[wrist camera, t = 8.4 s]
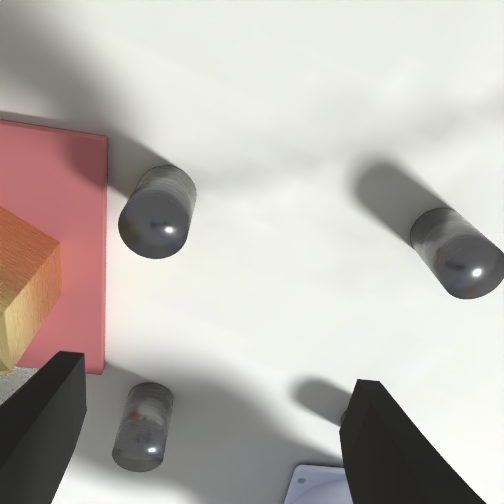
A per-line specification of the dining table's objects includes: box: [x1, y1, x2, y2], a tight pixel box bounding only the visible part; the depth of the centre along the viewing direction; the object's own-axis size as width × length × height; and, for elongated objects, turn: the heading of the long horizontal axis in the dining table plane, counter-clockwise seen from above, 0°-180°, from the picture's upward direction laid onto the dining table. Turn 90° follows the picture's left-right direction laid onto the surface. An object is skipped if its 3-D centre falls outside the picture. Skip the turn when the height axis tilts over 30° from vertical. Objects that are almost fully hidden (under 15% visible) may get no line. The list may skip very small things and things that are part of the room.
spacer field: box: [112, 166, 504, 472], centre depth 20 cm, size 14×14×4 cm
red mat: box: [0, 120, 107, 375], centre depth 19 cm, size 12×8×1 cm, turn 170°
